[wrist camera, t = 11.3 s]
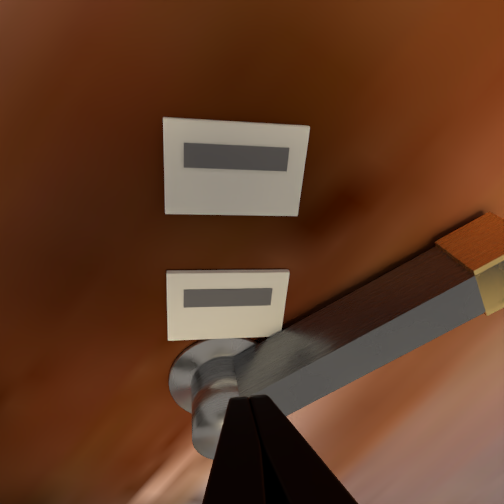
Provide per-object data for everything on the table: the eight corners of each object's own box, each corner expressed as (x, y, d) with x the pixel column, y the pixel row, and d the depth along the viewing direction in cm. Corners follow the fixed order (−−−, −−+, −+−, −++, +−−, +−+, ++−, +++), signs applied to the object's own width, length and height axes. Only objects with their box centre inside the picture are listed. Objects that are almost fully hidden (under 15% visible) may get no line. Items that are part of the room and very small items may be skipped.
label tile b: (165, 211, 17) (164, 214, 17) (163, 116, 15) (162, 118, 15) (295, 213, 18) (298, 216, 18) (308, 125, 16) (310, 127, 16)
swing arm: (213, 413, 23) (217, 469, 20) (177, 377, 21) (177, 433, 18) (501, 259, 21) (555, 295, 18) (488, 206, 19) (545, 236, 16)
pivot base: (169, 417, 23) (169, 421, 23) (167, 337, 20) (167, 340, 20) (268, 410, 24) (269, 414, 24) (279, 332, 21) (280, 336, 21)
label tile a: (167, 337, 20) (167, 341, 20) (166, 270, 18) (166, 274, 18) (279, 332, 21) (281, 337, 21) (288, 269, 20) (290, 273, 19)
